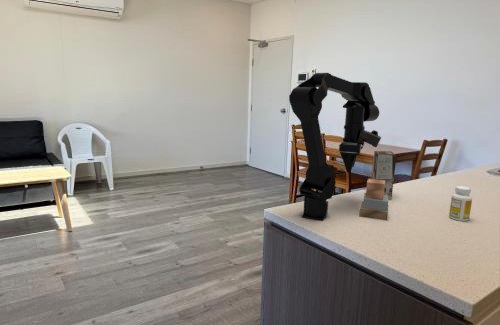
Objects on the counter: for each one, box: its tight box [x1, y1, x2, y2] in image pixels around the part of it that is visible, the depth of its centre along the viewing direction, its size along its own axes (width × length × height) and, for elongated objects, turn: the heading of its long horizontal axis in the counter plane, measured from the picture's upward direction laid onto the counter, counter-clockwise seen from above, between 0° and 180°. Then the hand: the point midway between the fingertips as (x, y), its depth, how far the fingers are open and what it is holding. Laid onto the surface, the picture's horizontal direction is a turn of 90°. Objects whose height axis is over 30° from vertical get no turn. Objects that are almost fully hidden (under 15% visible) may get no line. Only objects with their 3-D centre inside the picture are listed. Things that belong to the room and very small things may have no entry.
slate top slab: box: [362, 192, 389, 211], centre depth 110 cm, size 7×7×3 cm
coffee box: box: [371, 150, 397, 201], centre depth 129 cm, size 9×6×16 cm
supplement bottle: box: [448, 185, 473, 222], centre depth 108 cm, size 5×5×10 cm
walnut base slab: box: [358, 200, 389, 221], centre depth 110 cm, size 8×8×3 cm
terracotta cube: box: [365, 178, 385, 200], centre depth 109 cm, size 5×5×5 cm
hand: (350, 169), depth 117 cm, fingers open, 9 cm apart
